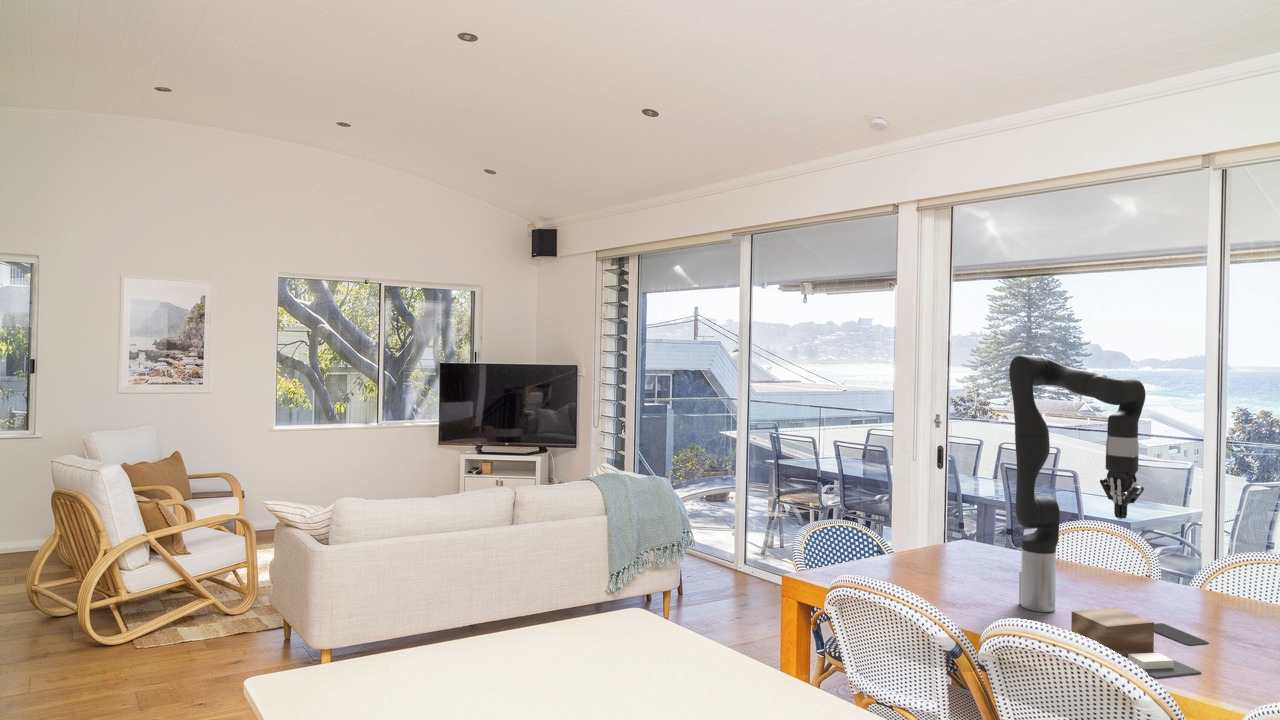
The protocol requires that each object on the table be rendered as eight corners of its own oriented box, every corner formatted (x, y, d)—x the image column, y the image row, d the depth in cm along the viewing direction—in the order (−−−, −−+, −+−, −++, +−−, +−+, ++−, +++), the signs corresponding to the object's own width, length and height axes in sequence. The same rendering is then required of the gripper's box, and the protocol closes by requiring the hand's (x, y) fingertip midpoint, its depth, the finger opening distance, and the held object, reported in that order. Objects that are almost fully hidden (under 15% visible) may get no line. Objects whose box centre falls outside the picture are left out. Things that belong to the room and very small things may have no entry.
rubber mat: (1112, 657, 204) (1112, 656, 204) (1155, 653, 207) (1155, 652, 207) (1155, 678, 191) (1155, 676, 191) (1201, 673, 194) (1201, 671, 194)
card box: (1142, 661, 195) (1142, 670, 195) (1173, 660, 196) (1173, 668, 196) (1128, 653, 200) (1128, 662, 200) (1158, 652, 201) (1157, 660, 201)
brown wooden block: (1071, 641, 215) (1071, 611, 215) (1115, 637, 218) (1116, 607, 218) (1107, 658, 204) (1107, 626, 203) (1153, 653, 207) (1154, 622, 207)
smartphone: (1188, 644, 212) (1140, 624, 227) (1187, 648, 212) (1140, 627, 227) (1211, 642, 214) (1162, 622, 228) (1210, 646, 214) (1162, 625, 229)
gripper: (1091, 450, 223) (1089, 513, 224) (1129, 457, 210) (1128, 524, 211) (1114, 449, 225) (1113, 512, 225) (1154, 456, 212) (1152, 522, 212)
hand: (1120, 517), depth 218 cm, fingers closed
